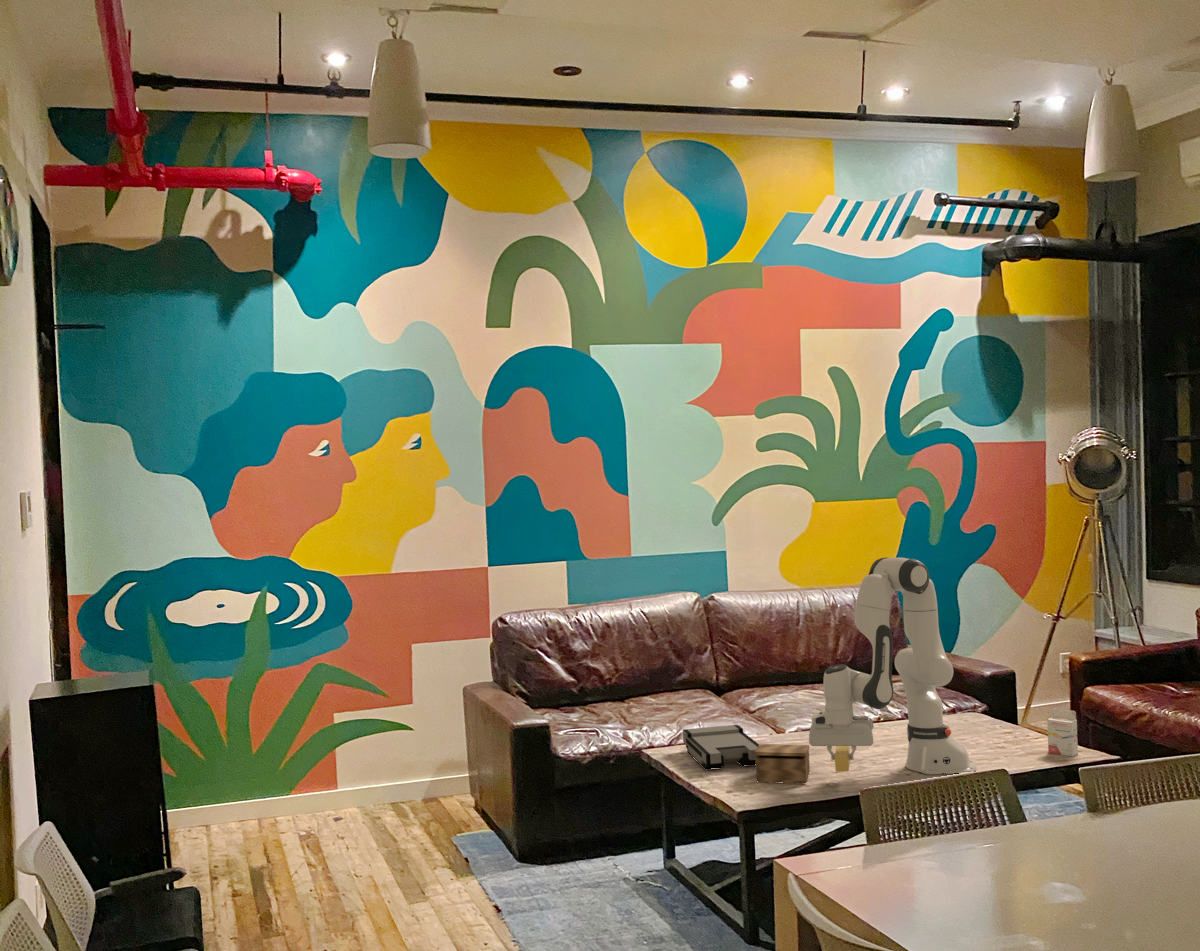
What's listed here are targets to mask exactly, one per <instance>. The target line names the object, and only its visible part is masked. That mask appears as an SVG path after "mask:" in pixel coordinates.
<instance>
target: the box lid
mask: <svg viewBox="0 0 1200 951" xmlns="http://www.w3.org/2000/svg"><path fill="white" fill-rule="evenodd" d="M808 750H809V751H810V744H808V745H807V744H775V743H774V744H772V743H771V744H767V743H760V744H759V746H758V748H757V749H756V750H755V752H754V754H755V755H771V756H806V754H807V752H808Z"/></svg>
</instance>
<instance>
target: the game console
mask: <svg viewBox="0 0 1200 951" xmlns="http://www.w3.org/2000/svg"><path fill="white" fill-rule="evenodd" d="M682 740H683V743H684V744H685V748H686V749H687V752H688V753H689V754H690V755H689V754H688V755H689V756H691V755H692V756H691V758H693V757H694V758H695V759H696V760H697V761H698V762H699V763H700V764H701V765H702V766H703V767H704V768H705V769H711V768H722V769H723V767H725V763H726V762H727V763H728V762H736V761H737V762H738V763H737V762H736V763H737V764H739V763H740V764H741V765H742V766H744V765H755V764H756V760H755V758H756V756H757V755H755V754H754V752H755V750H756V749H757V748H758V746H759V745H760V744H759V743H758V742H757V741H755V740H754V739H753V738H751V737H750V736H749V735H748V734H746V733H745V732H744V728H742V727H741V726H740V725H738V724H733V725H732V724H730V725H719V726H707V727H706V726H705V727H695V728H685V729H682ZM694 758H693V759H694ZM695 759H694V760H695ZM696 760H695V761H696ZM697 761H696V762H697ZM698 762H697V763H698ZM699 763H698V764H699ZM700 764H699V765H700ZM740 764H739V765H740ZM701 765H700V766H701ZM741 765H740V766H741ZM702 766H701V767H702ZM742 766H741V767H742ZM755 766H756V765H755ZM703 767H702V768H703ZM744 767H745V766H744ZM704 768H703V769H704ZM705 769H704V770H705Z"/></svg>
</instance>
